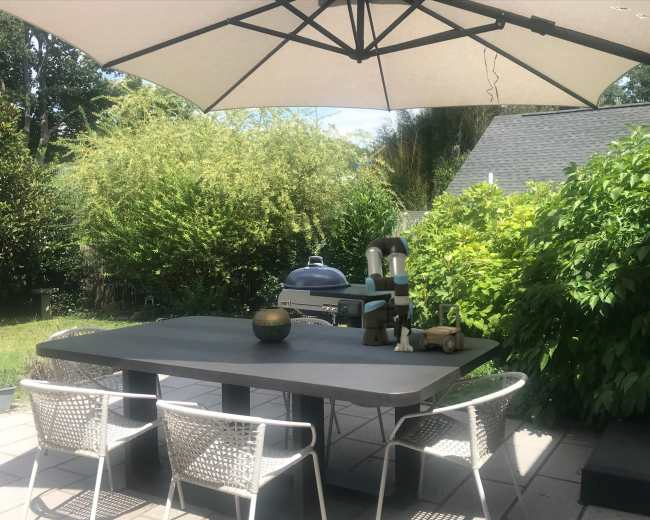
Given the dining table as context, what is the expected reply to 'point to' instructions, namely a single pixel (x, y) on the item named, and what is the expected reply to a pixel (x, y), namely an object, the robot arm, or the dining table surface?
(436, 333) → the wooden trolley
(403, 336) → the sitting furry creature
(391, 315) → the robot arm
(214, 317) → the dining table surface
